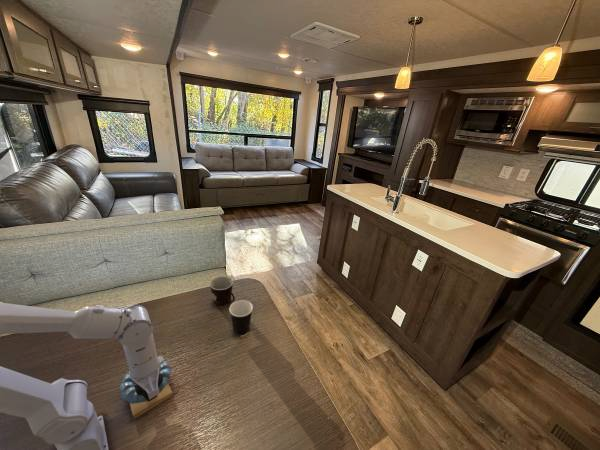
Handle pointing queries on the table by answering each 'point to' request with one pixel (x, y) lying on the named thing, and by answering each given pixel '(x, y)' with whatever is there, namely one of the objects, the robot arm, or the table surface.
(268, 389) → the table surface
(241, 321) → the dixie cup
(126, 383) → the blue beaded bracelet
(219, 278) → the coffee mug
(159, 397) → the hook stand
